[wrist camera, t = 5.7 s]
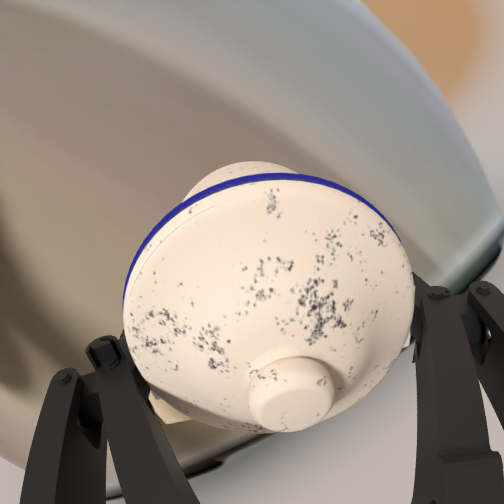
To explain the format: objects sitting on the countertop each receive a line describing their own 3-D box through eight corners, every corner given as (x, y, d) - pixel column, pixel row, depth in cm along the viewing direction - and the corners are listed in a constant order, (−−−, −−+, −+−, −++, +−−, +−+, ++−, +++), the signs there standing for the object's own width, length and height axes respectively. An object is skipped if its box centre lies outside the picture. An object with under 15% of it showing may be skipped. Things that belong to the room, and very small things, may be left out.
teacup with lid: (139, 209, 16) (10, 336, 5) (290, 126, 15) (428, 106, 4) (244, 364, 20) (260, 526, 9) (367, 304, 19) (464, 440, 8)
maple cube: (172, 390, 30) (166, 424, 26) (148, 357, 29) (138, 391, 24) (213, 379, 30) (212, 414, 25) (192, 344, 28) (186, 380, 24)
